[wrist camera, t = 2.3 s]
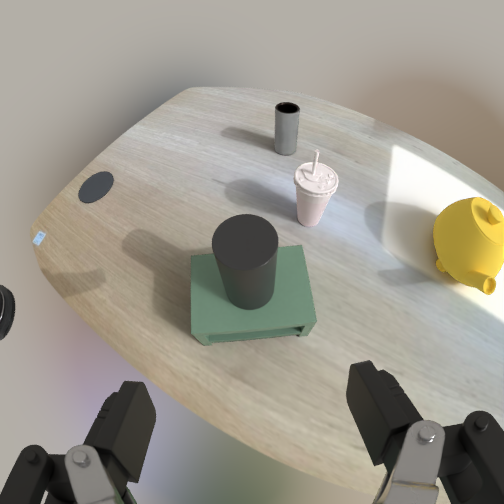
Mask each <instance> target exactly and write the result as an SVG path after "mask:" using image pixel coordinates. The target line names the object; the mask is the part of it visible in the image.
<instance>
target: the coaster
mask: <svg viewBox="0 0 504 504" xmlns="http://www.w3.org/2000/svg"><path fill="white" fill-rule="evenodd" d="M113 181H114V179H113V176H112V174H111V173H109V172H99V173H96V174H94V175H92V176H91V177H90V178H88V179H87V180H86V181H85V182H84V183H83V185H82V186H81V188H80V190H79V199H80V200H81V201H82V202H84V203H92V202H95V201H97V200H99V199H100V198H102V197H103V196H104V195H105V194H106V193H107V192H108V191H109V190H110V188H111V187H112V185H113Z"/></svg>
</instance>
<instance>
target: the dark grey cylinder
mask: <svg viewBox="0 0 504 504" xmlns="http://www.w3.org/2000/svg"><path fill="white" fill-rule="evenodd" d="M212 249H213V252H214V256H215V259H216V262H217V265H218V269H219V272H220V275H221V278H222V281H223V284H224V287H225V291H226V294H227V296H228V298H229V300H230V301H231V302H232V303H233V304H234V305H235V306H236V307H238V308H241V309H244V310H255V309H259V308H261V307H263V306H265V305H266V304H267V303H268V302H269V301H270V299H271V298H272V296H273V293H274V286H275V275H276V264H277V252H278V235H277V232H276V230H275V229H274V227H273V226H272V225H271V224H270V223H269V222H268V221H267V220H265V219H264V218H262V217H259V216H256V215H251V214H242V215H237V216H233V217H231V218H229V219H227V220H225V221H224V222H223V223H221V224H220V225H219V226H218V228H217V229H216V231H215V233H214V235H213V238H212Z"/></svg>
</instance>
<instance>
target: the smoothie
mask: <svg viewBox="0 0 504 504" xmlns="http://www.w3.org/2000/svg"><path fill="white" fill-rule="evenodd" d="M318 156H319V150H315V154H314V160H313V162H308V163H304V164H301V165H300V166H298V167H297V169H296V170H295V173H294V178H293V179H294V183H295V185H296V196H297V218H298V221H299V222H300V223H301V224H302V225H304V226H307V227H312V226H315V225H317V224H318V222H319V220H320V218H321V216H322V214H323V212H324V210H325V208H326V205H327V203H328V201H329V199H330V197H331V195H332V194H333V193H334V192H335V191H336V189H337V186H338V176H337V174H336V173H335V171H334V170H333V169H332V168H330V167H329V166H327V165H325V164H322V163H318V162H317V161H318Z"/></svg>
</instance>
